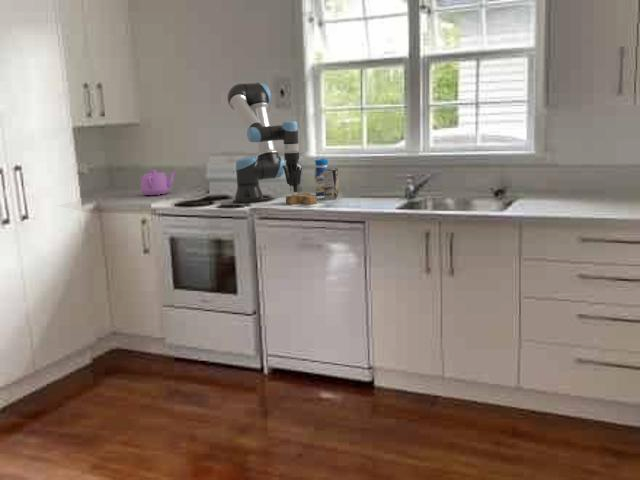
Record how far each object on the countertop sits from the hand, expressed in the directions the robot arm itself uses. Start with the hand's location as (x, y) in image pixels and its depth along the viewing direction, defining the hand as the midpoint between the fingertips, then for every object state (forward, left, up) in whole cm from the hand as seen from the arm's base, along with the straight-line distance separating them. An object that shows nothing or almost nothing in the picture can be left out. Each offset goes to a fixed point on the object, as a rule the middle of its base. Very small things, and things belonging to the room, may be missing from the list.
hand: (294, 198), depth 345 cm
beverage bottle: (-6, +26, -3) cm, 27 cm away
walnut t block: (+7, 0, -2) cm, 8 cm away
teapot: (-106, -19, -3) cm, 108 cm away
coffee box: (+8, +19, -3) cm, 21 cm away
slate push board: (+7, 0, -3) cm, 7 cm away
